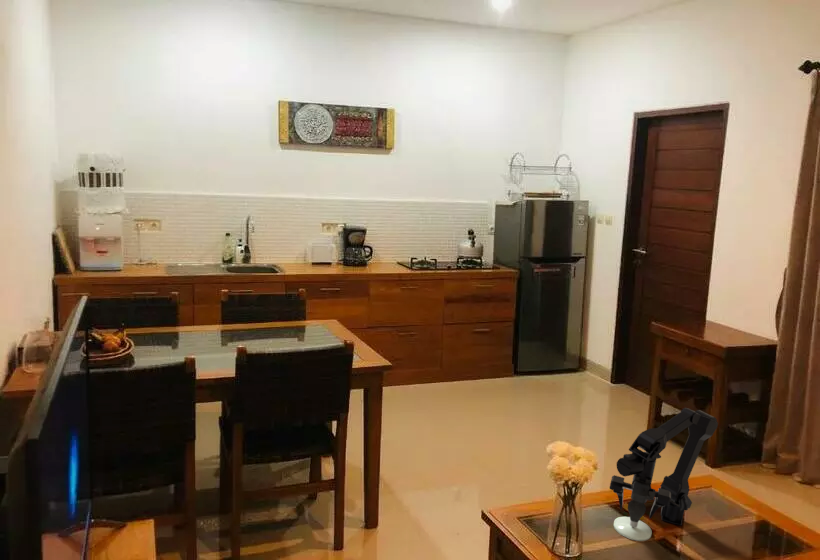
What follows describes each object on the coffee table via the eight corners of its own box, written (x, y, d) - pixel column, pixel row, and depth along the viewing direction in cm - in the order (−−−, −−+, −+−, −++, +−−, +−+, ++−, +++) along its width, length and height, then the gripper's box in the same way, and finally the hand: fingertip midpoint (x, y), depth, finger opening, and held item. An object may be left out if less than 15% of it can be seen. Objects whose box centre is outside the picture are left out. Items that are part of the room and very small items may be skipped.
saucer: (652, 526, 222) (652, 523, 222) (650, 545, 211) (650, 542, 211) (615, 515, 226) (616, 512, 226) (611, 533, 216) (612, 530, 215)
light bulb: (642, 533, 215) (648, 506, 213) (625, 530, 216) (630, 503, 214) (640, 524, 221) (645, 497, 218) (623, 520, 222) (628, 494, 220)
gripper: (611, 472, 210) (603, 516, 214) (674, 490, 203) (664, 535, 207) (615, 458, 220) (607, 500, 224) (674, 474, 213) (665, 517, 217)
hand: (635, 513), depth 217 cm, fingers open, 9 cm apart
